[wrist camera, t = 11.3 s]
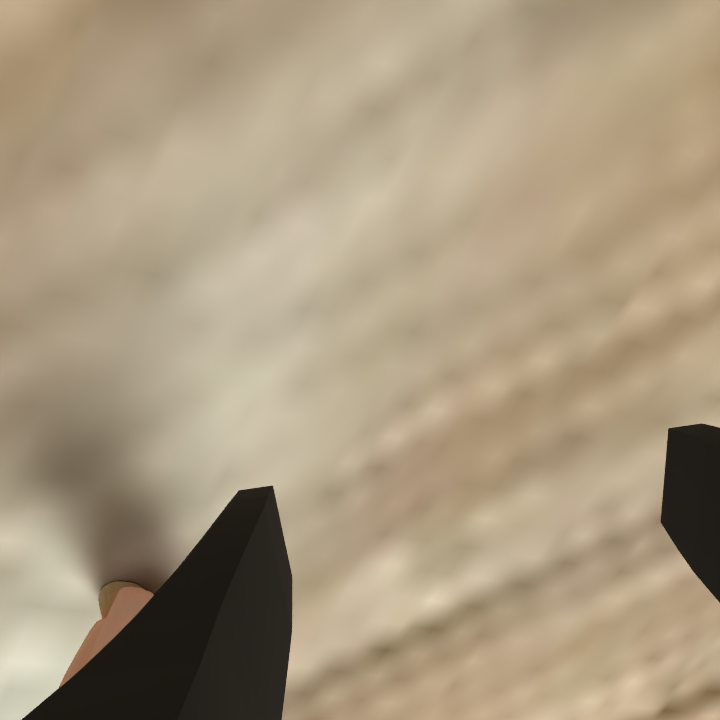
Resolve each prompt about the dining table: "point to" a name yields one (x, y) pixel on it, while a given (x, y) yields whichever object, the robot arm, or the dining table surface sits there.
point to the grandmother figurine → (109, 620)
